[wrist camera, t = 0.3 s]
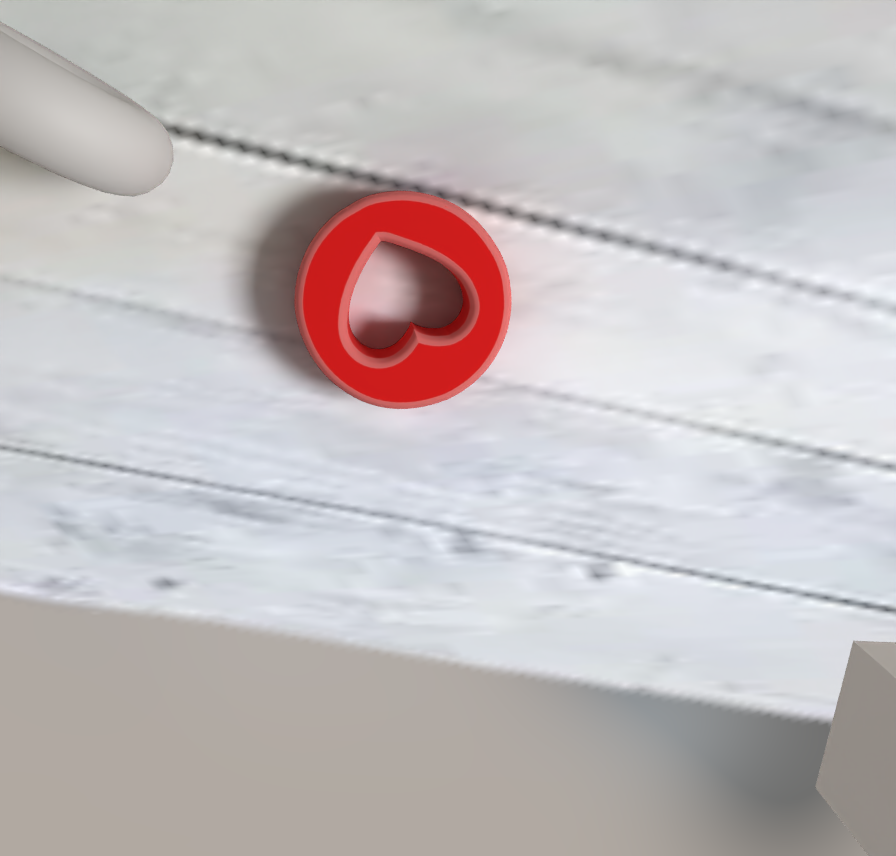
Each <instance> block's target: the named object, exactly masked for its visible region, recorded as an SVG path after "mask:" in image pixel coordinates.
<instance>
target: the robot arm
mask: <svg viewBox="0 0 896 856" xmlns="http://www.w3.org/2000/svg"><path fill="white" fill-rule="evenodd" d="M815 788H816V789H817V790H818V791H819V793H820V794H821V795H822V797H823V798H824V799H825V800H826V802H827V803H828V804H829V806H830V807H831V808H832V809H833V811H834V812H835V813H836V815H837V816H838V817H839V819H840V820H841V821H842V822H843V824H844V825H845V826H846V827H847V829H848V830H849V831H850V833H851V834H852V835H853V837H854V838H855V839H856V840H857V842H858V843H859V844H860V846H861V847H862V848H863V849H864V851H865V852H866V853H867V855H868V856H896V643H893V642H867V641H853V644H852V648H851V652H850V656H849V660H848V664H847V668H846V671H845V675H844V679H843V683H842V687H841V691H840V695H839V698H838V702H837V706H836V710H835V714H834V718H833V721H832V725H831V729H830V733H829V737H828V741H827V745H826V749H825V753H824V756H823V760H822V764H821V768H820V772H819V775H818V780H817V783H816V787H815Z"/></svg>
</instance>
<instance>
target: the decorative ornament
mask: <svg viewBox="0 0 896 856" xmlns="http://www.w3.org/2000/svg"><path fill="white" fill-rule="evenodd" d="M380 241H387V242H391V243H393V244H396V245H399V246H402V247H405V248H408V249H410V250H413V251H416V252H418V253H421V254H423V255H425V256H428V257H430V258H432V259H434V260H435V261H437V262H439V263H440V264H442V265H443V266H444V267H445V268H447V269H448V270H449V271H450V272H451V273H452V274H453V275H454V277H455V278H456V280H457V281H458V283H459V285H460V288H461V291H462V294H463V305H462V309H461V311H460V313H459V315H458V317H457V318H456V319H455V320H454V321H453V322H452V323H451V324H449V325H447V326H445V327H442V328H425V327H421V326H418V325H416V324H414V323H412V322H410V326H409V328H408V329H407V331H406V332H405V334H404V335H403V337H402V338H401V339H400V340H399V341H398V342H397V343H395V344H394V345H392V346H390V347H387V348H384V349H373V348H369V347H366V346H365V345H363V344H361V343H360V342H359V341H358V340H357V339H356V338H355V336H354V335H353V333H352V331H351V328H350V325H349V305H350V300H351V296H352V293H353V290H354V287H355V284H356V282H357V280H358V277H359V275H360V273H361V271H362V269H363V267H364V266H365V264H366V262H367V261H368V259H369V257H370V256H371V254H372V253H373V251H374V250H375V248H376V247H377V246H378V244H379V243H380ZM510 313H511V289H510V280H509V275H508V271H507V268H506V265H505V262H504V260H503V257H502V255H501V253H500V251H499V250H498V248H497V246H496V245H495V243H494V242H493V240H492V239H491V237H490V236H489V235H488V233H487V232H486V231H485V229H484V228H483V227H482V226H481V225H480V224H479V223H478V222H477V221H476V220H475V219H474V218H473V217H472V216H471V215H469V214H468V213H467V212H466V211H464V210H463V209H461V208H460V207H458V206H457V205H455V204H453V203H451V202H449V201H447V200H444V199H442V198H439V197H436V196H432V195H429V194H424V193H419V192H411V191H390V192H382V193H377V194H372V195H369V196H366V197H363V198H361V199H359V200H357V201H356V202H354V203H352V204H351V205H349V206H347V207H345V208H344V209H342V210H340V211H339V212H338V213H336V214H335V215H334V216H333V217H332V218H331V219H329V220H328V221H327V222H326V223H325V225H324V226H323V227H322V228H321V229H320V230H319V231H318V233H317V234H316V235H315V237H314V238H313V240H312V241H311V243H310V245H309V246H308V248H307V250H306V252H305V254H304V257H303V259H302V262H301V265H300V268H299V272H298V275H297V281H296V287H295V314H296V319H297V323H298V327H299V330H300V333H301V336H302V339H303V341H304V343H305V345H306V348H307V350H308V351H309V353H310V355H311V357H312V358H313V360H314V362H315V363H316V364H317V366H318V367H319V368H320V370H321V371H322V372H323V373H324V374H325V375H326V376H327V377H328V378H329V379H330V380H331V381H332V382H333V383H334V384H335V385H337V386H338V387H339V388H341V389H342V390H343V391H345V392H347V393H348V394H350V395H351V396H353V397H355V398H357V399H359V400H361V401H364V402H366V403H369V404H372V405H375V406H379V407H385V408H393V409H408V408H418V407H423V406H428V405H432V404H435V403H439V402H441V401H444V400H447V399H449V398H451V397H453V396H455V395H457V394H458V393H460V392H462V391H463V390H464V389H466V388H467V387H469V386H470V385H471V384H473V383H474V382H475V381H476V380H477V379H478V378H479V377H480V376H481V375H482V374H483V373H484V372H485V371H486V370H487V368H488V367H489V366H490V365H491V363H492V362H493V360H494V359H495V357H496V355H497V353H498V352H499V350H500V348H501V346H502V343H503V341H504V338H505V335H506V333H507V329H508V325H509V320H510Z"/></svg>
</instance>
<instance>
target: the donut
mask: <svg viewBox="0 0 896 856" xmlns="http://www.w3.org/2000/svg"><path fill="white" fill-rule="evenodd" d="M0 146H1V147H2V148H4V149H6V150H8V151H10V152H12V153H14V154H16V155H18V156H20V157H22V158H24V159H26V160H28V161H30V162H32V163H35V164H37V165H39V166H41V167H43V168H45V169H47V170H49V171H51V172H54V173H56V174H58V175H61V176H63V177H65V178H68V179H70V180H72V181H75V182H77V183H79V184H82V185H85V186H88V187H91V188H93V189H96V190H99V191H102V192H105V193H110V194H115V195H121V196H137V195H141V194H145V193H148V192H149V191H151V190H152V189H154V188H155V187H157V186H158V185H160V184H161V183H162V182H163V181H164V180H165V178H166V177H167V176H168V174H169V173H170V170H171V166H172V163H173V145H172V142H171V140H170V137H169V134H168V132H167V131H166V129H165V128H164V126H163V125H162V124H161V122H160V121H159V120H158V119H157V118H156V117H155V116H153V115H152V114H151V113H150V112H148V111H147V110H146V109H144V108H143V107H142V106H140V105H139V104H137V103H136V102H135V101H133V100H132V99H130V98H129V97H127V96H125V95H124V94H122V93H121V92H119V91H118V90H116V89H115V88H113V87H111V86H110V85H108V84H107V83H105V82H103V81H102V80H100V79H98V78H97V77H95V76H94V75H92V74H90V73H89V72H87V71H85V70H84V69H82V68H80V67H79V66H77V65H75V64H74V63H72V62H70V61H68V60H67V59H65V58H63V57H62V56H60V55H58V54H57V53H55V52H53V51H51V50H50V49H48V48H46V47H44V46H43V45H41V44H39V43H38V42H36V41H34V40H32V39H31V38H29V37H27V36H25V35H23V34H22V33H20V32H18V31H16V30H15V29H13V28H11V27H9V26H7V25H6V24H4V23H2V22H0Z"/></svg>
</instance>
